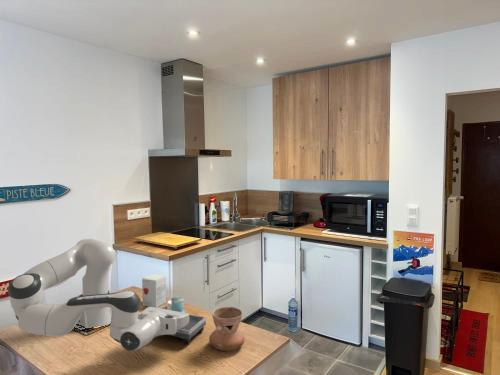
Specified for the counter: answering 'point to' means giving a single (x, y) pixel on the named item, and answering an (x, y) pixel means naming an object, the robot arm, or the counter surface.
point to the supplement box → (154, 290)
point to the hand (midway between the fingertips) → (175, 309)
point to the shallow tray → (191, 328)
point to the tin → (177, 304)
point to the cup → (169, 304)
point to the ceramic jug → (226, 329)
